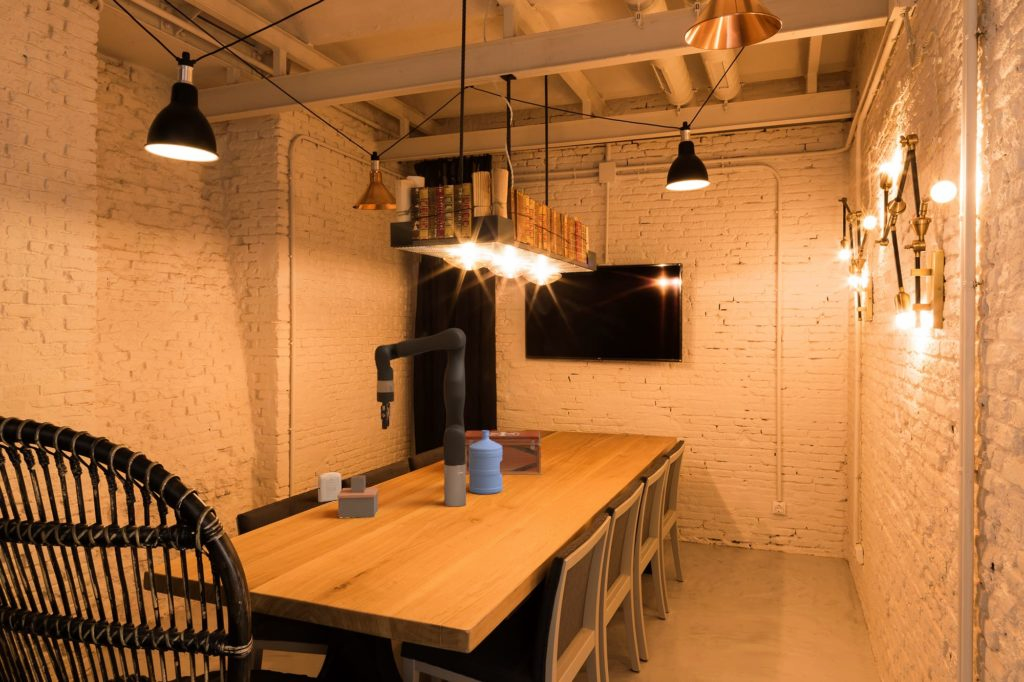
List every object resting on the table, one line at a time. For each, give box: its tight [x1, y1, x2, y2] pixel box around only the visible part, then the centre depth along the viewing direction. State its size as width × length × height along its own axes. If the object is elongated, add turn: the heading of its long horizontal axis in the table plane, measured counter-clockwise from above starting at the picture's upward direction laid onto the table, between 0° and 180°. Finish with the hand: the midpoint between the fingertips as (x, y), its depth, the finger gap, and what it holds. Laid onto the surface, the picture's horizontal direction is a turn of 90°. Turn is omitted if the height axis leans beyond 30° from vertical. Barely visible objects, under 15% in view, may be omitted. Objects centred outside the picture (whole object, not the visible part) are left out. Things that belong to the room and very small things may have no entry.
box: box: [337, 491, 379, 519], centre depth 277 cm, size 14×12×8 cm
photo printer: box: [317, 471, 342, 503], centre depth 300 cm, size 10×4×12 cm, turn 123°
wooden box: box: [465, 430, 542, 476], centre depth 361 cm, size 20×41×20 cm, turn 88°
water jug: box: [468, 429, 504, 495], centre depth 316 cm, size 16×16×28 cm
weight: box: [350, 474, 367, 493], centre depth 277 cm, size 5×5×6 cm
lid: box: [337, 487, 379, 498], centre depth 277 cm, size 15×12×1 cm
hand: (385, 427), depth 297 cm, fingers open, 8 cm apart
